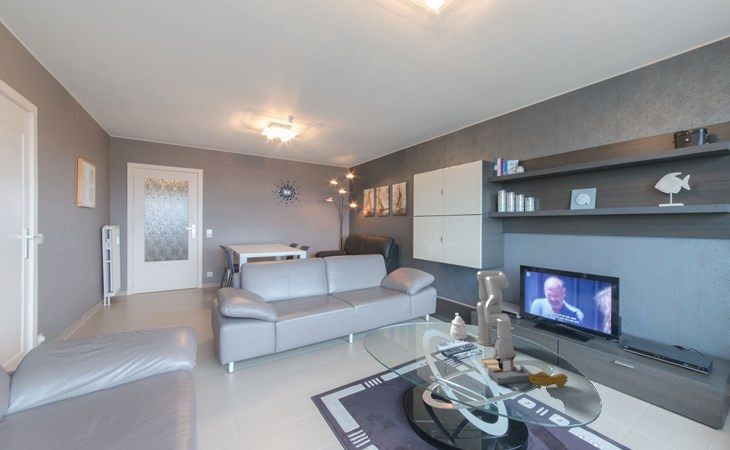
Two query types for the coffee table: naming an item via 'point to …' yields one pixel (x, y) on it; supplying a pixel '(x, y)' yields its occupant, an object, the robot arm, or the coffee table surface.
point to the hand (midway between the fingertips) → (504, 368)
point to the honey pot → (458, 328)
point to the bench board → (494, 365)
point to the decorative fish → (547, 379)
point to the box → (510, 376)
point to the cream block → (506, 364)
